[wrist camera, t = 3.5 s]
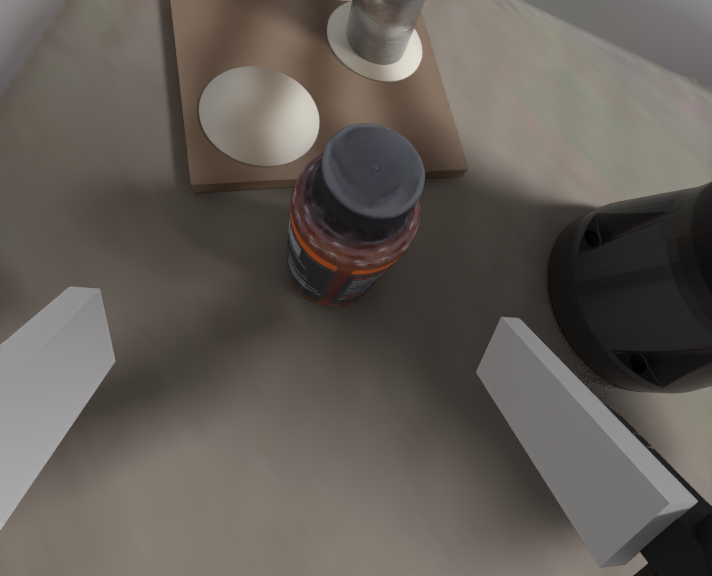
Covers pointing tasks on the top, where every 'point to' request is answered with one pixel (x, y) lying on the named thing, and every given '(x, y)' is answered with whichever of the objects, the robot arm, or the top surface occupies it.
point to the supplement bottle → (353, 213)
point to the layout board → (296, 91)
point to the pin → (382, 28)
